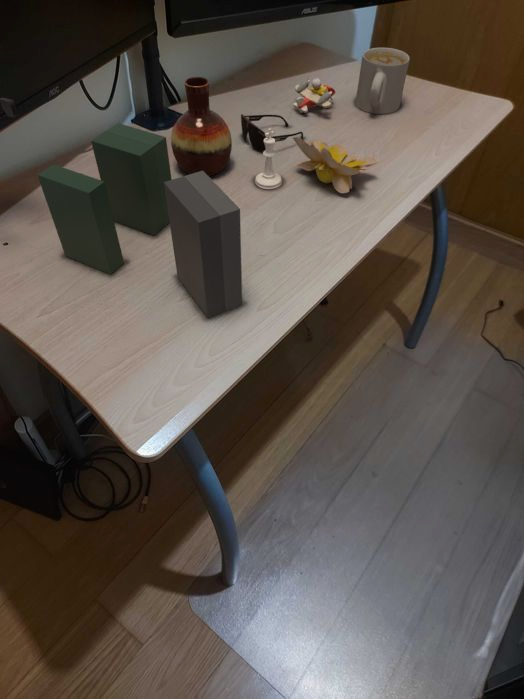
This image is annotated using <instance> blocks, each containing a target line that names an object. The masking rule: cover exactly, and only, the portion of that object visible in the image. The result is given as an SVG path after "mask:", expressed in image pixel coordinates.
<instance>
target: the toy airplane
mask: <svg viewBox="0 0 524 699" xmlns="http://www.w3.org/2000/svg"><path fill="white" fill-rule="evenodd" d="M310 83H311V88H310V90H309V89H308V88H309V85H310ZM294 90H295V92H296V93H297V94H299V95H300V96H299V97H297V98H296V99H295V101H296V102H294V103H293V107H294V108H296V109H297V110H298V112H299V113H300V114H302V113H304V114H307V113H308V112H309V108H313V107H315V106H319V107H322V108H324V109H330V108H331V107H332V105H333V104H332V102H333V101H334V99H333V96H334V95H335V94H336V90H335V89H334V88H333V87H331V86H330V85H327V84H322V81H321V79H320V78H318V77H317V78H314V79H313V80H312V81H311V80H310V79H309V77H307V80H306V79H305V80H304V81H302V82H301V83H300V84H296V85H295V86H294ZM329 100H330V101H329ZM331 101H332V102H331Z"/></svg>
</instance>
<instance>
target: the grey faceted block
mask: <svg viewBox="0 0 524 699" xmlns="http://www.w3.org/2000/svg"><path fill="white" fill-rule="evenodd" d="M164 188H165V195H166V201H167V208H168V215H169V228H170V235H171V241H172V242H171V243H172V249H173V256H174V261H175V268H176V276H177V279H178V280H179V281H180V283H181V284H182V285H183V287H184V288H185V289H186V291H187V292H188V294H189V296H190V297H192V299H193V300H194V302H195V303H196V305H197V306H198V307H199V309H200V311H202V313H203V315H205V317H206V318H207V319H209V318H211V317H214V316H217V315H219V314H221V313H224V312H226V311H229V310H232V309H234V308H237V307H240V306H242V305H243V283H242V282H243V279H242V278H243V277H242V238H241V237H242V236H241V235H242V234H241V232H242V230H241V209H240V207H239V206H238V205H237V204H236V203H235V202H234V201H233V200H232V199H231V198H230V197H229V196H228V195H227V194H226V192H224V191H223V189H221V187H219V186H218V184H216V182H215V181H213V179H212V178H211V176H208V175H207V174H206V173H205V172H204V171H200V172H197V173H193V174H187V175H184V176H180V177H176V178H173V179H172V180H169V181H166V182H164Z"/></svg>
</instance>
